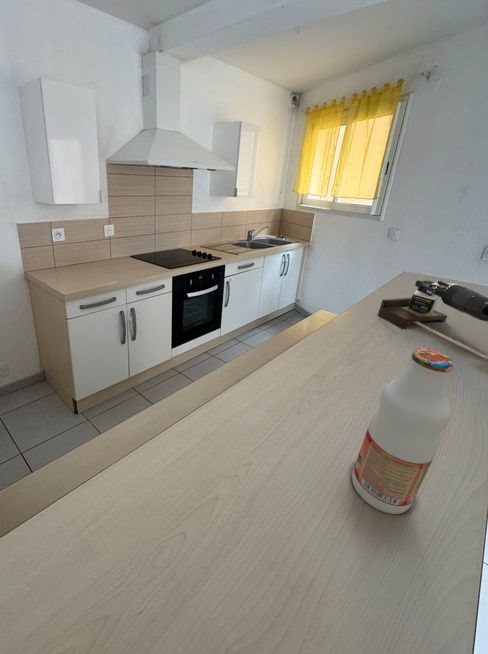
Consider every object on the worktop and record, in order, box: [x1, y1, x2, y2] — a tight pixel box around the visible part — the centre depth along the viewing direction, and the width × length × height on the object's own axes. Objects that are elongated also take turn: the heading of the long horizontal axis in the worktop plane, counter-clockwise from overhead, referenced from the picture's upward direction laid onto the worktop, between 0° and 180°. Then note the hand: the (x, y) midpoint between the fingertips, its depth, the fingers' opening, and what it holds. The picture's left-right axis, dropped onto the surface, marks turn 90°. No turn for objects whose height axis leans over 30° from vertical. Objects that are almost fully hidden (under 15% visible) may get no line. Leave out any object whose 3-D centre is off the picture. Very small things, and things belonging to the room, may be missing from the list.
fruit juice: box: [351, 347, 455, 515], centre depth 52 cm, size 9×9×28 cm
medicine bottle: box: [408, 280, 439, 316], centre depth 122 cm, size 7×7×12 cm
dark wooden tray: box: [377, 297, 448, 330], centre depth 126 cm, size 20×12×7 cm, turn 105°
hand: (427, 283), depth 122 cm, fingers open, 8 cm apart
